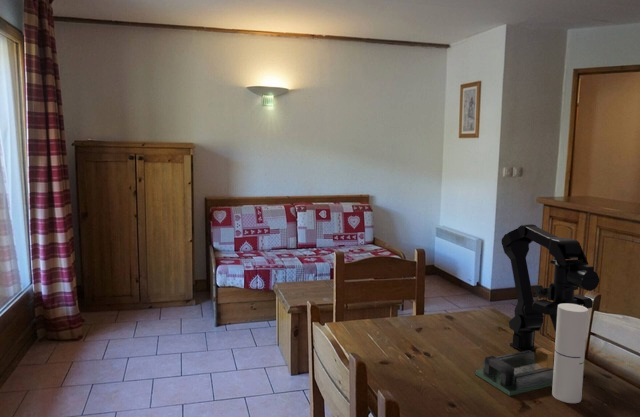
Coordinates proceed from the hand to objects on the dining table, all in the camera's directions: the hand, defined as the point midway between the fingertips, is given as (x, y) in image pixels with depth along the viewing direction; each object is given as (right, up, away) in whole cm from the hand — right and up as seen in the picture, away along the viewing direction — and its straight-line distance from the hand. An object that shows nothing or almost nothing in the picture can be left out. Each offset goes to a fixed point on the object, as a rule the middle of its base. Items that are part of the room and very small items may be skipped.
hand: (560, 331), depth 148 cm
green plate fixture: (-14, -13, -4) cm, 19 cm away
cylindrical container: (-6, -14, -15) cm, 21 cm away
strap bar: (-11, -11, -3) cm, 16 cm away
